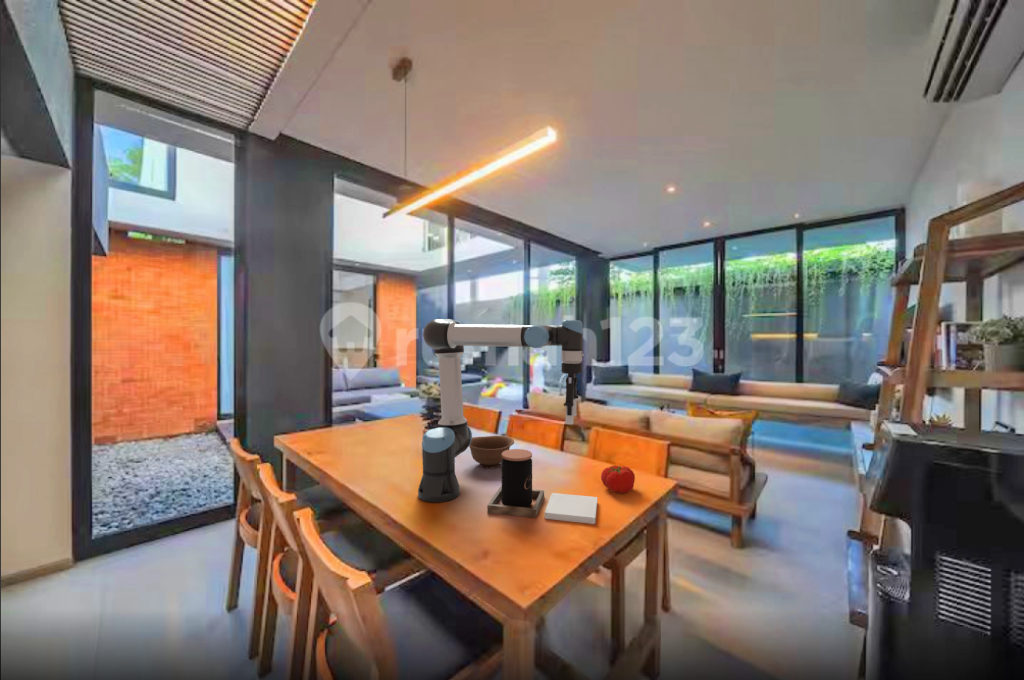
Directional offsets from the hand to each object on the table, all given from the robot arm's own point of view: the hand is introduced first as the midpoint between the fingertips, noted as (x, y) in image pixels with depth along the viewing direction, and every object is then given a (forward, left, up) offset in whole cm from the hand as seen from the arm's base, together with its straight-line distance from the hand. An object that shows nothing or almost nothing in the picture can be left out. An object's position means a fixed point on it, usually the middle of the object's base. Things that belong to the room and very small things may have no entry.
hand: (571, 419), depth 152 cm
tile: (+2, -14, -27) cm, 31 cm away
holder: (-17, -14, -27) cm, 35 cm away
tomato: (+17, +7, -28) cm, 33 cm away
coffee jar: (-17, -14, -28) cm, 35 cm away
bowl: (-38, +23, -28) cm, 52 cm away
